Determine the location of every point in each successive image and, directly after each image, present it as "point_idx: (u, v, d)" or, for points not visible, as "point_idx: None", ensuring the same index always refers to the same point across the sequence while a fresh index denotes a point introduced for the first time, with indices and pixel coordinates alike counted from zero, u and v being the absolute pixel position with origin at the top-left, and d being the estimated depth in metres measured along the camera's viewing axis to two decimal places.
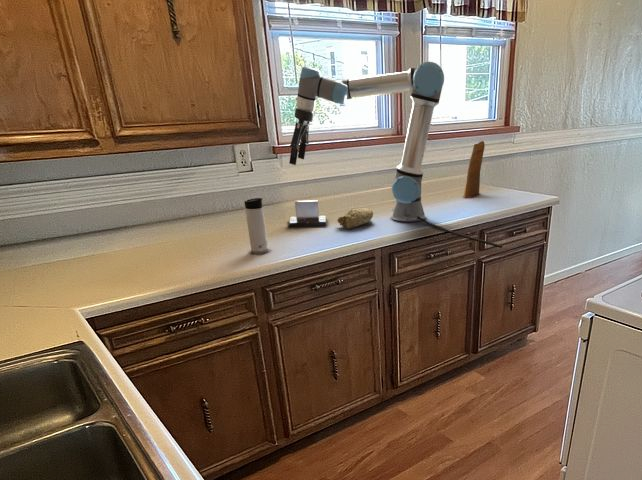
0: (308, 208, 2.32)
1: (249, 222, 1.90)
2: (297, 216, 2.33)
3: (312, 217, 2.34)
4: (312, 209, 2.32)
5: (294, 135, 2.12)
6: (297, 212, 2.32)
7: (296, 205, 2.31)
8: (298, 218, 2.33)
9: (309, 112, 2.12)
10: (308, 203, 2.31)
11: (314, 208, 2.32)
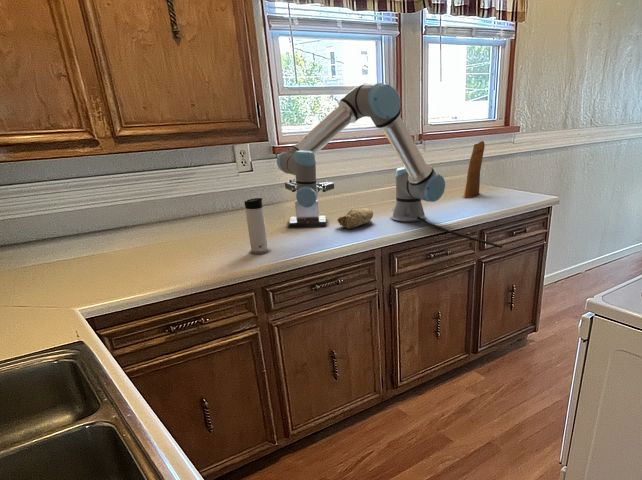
0: (308, 208, 2.32)
1: (249, 222, 1.90)
2: (297, 216, 2.33)
3: (312, 217, 2.34)
4: (312, 209, 2.32)
5: (329, 188, 2.13)
6: (297, 212, 2.32)
7: (296, 205, 2.31)
8: (298, 218, 2.33)
9: None
10: None
11: (314, 208, 2.32)
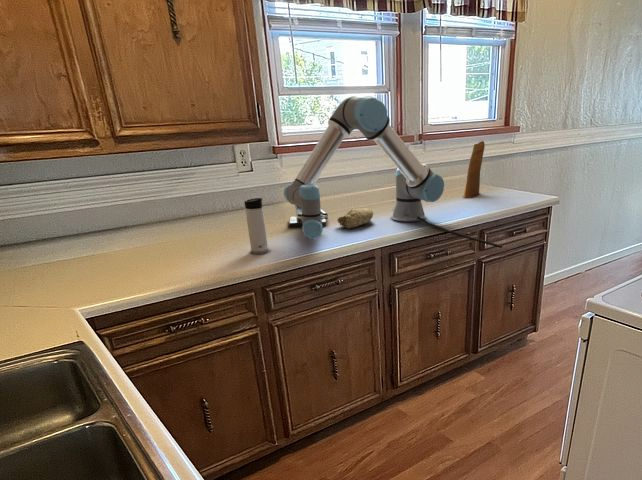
0: None
1: (249, 222, 1.90)
2: None
3: None
4: None
5: None
6: (298, 213, 2.31)
7: (297, 206, 2.29)
8: None
9: None
10: None
11: None
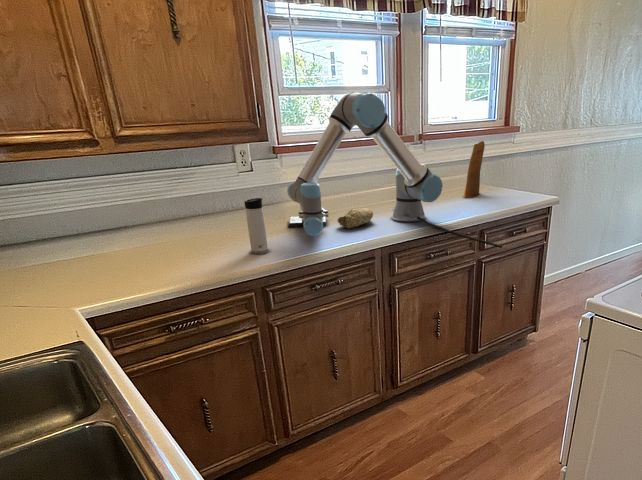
0: None
1: (249, 222, 1.90)
2: None
3: None
4: None
5: None
6: None
7: None
8: None
9: None
10: None
11: None
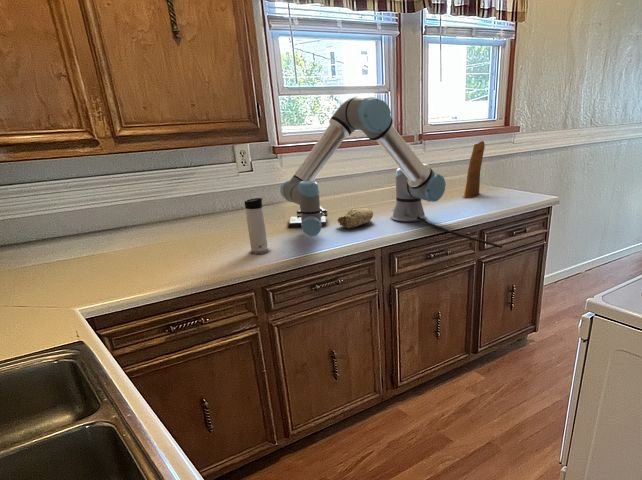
0: None
1: (249, 222, 1.90)
2: None
3: None
4: None
5: None
6: None
7: None
8: None
9: None
10: None
11: None
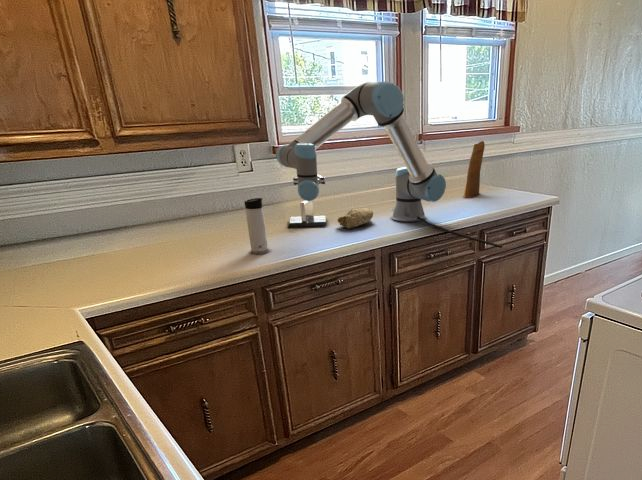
0: (309, 207, 2.33)
1: (249, 222, 1.90)
2: (306, 218, 2.30)
3: (311, 216, 2.36)
4: (311, 208, 2.35)
5: None
6: (305, 213, 2.30)
7: (305, 206, 2.28)
8: (306, 219, 2.31)
9: None
10: (309, 203, 2.32)
11: (311, 206, 2.35)
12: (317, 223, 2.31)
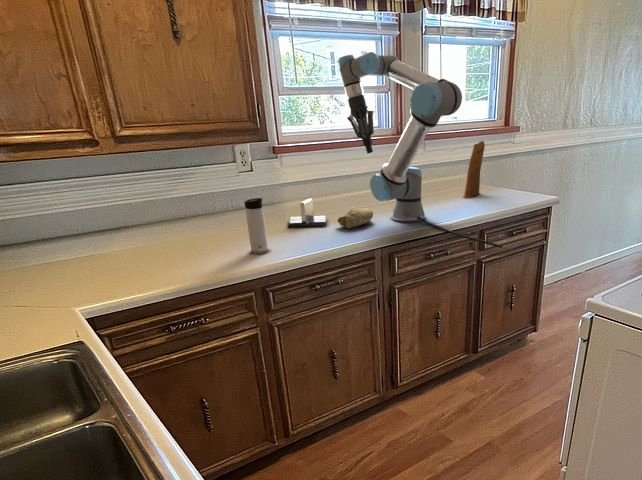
0: (309, 207, 2.33)
1: (249, 222, 1.90)
2: (306, 218, 2.30)
3: (311, 216, 2.36)
4: (311, 208, 2.35)
5: None
6: (305, 213, 2.30)
7: (305, 206, 2.28)
8: (306, 219, 2.31)
9: None
10: (309, 203, 2.32)
11: (311, 206, 2.35)
12: (317, 223, 2.31)
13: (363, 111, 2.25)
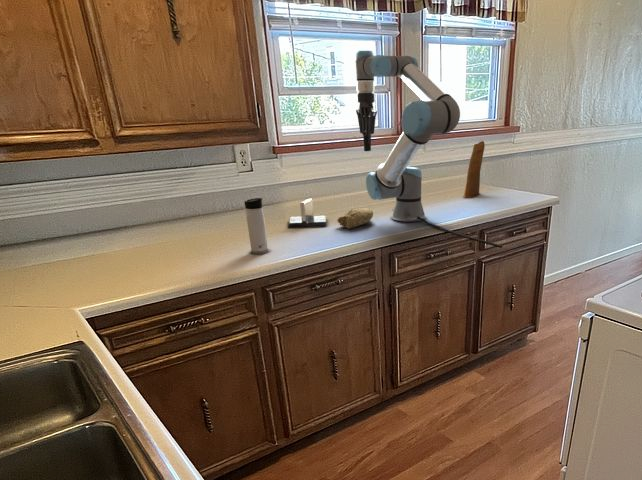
0: (309, 207, 2.33)
1: (249, 222, 1.90)
2: (306, 218, 2.30)
3: (311, 216, 2.36)
4: (311, 208, 2.35)
5: None
6: (305, 213, 2.30)
7: (305, 206, 2.28)
8: (306, 219, 2.31)
9: None
10: (309, 203, 2.32)
11: (311, 206, 2.35)
12: (317, 223, 2.31)
13: (367, 109, 2.24)
